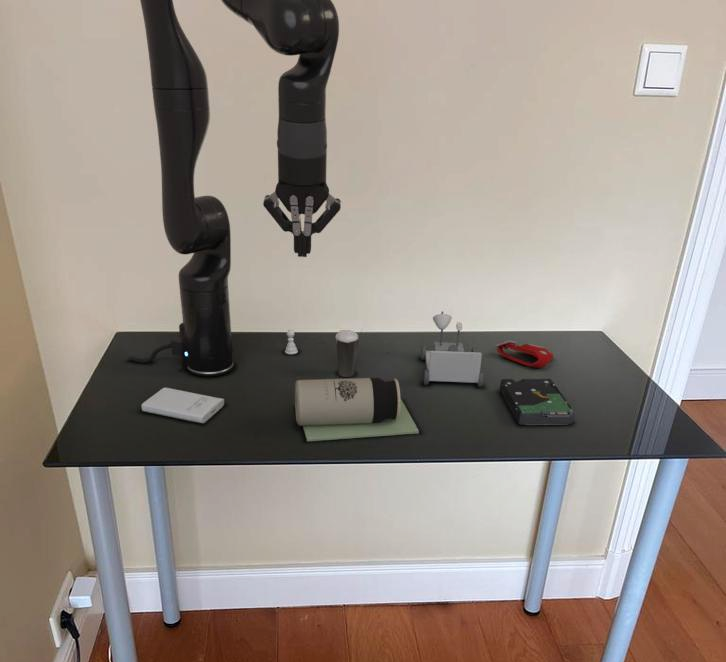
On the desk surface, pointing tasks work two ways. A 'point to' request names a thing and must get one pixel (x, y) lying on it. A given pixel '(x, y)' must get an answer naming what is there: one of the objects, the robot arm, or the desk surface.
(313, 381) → the travel mug
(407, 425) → the mat
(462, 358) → the toy car
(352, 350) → the milkshake
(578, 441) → the desk surface
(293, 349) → the chess pawn
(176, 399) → the hard drive
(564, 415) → the disk drive
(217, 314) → the robot arm
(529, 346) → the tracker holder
